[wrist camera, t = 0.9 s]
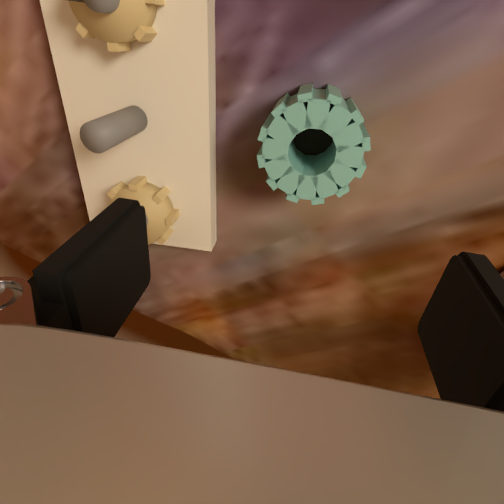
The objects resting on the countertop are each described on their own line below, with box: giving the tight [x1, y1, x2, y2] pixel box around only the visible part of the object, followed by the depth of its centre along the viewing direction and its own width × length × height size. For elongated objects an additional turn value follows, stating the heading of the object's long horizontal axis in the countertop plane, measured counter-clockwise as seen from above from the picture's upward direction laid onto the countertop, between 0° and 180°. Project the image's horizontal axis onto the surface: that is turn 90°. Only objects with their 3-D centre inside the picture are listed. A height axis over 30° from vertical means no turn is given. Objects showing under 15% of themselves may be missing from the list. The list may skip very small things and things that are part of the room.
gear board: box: [40, 0, 217, 251], centre depth 26 cm, size 12×23×8 cm, turn 177°
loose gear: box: [257, 83, 371, 205], centre depth 26 cm, size 8×8×5 cm
